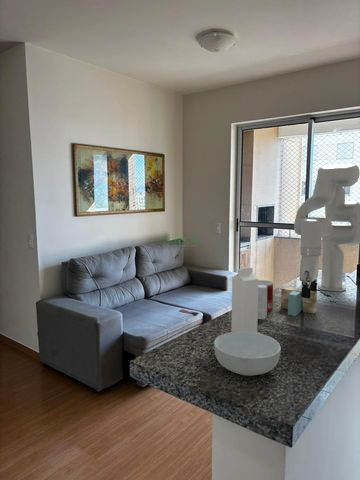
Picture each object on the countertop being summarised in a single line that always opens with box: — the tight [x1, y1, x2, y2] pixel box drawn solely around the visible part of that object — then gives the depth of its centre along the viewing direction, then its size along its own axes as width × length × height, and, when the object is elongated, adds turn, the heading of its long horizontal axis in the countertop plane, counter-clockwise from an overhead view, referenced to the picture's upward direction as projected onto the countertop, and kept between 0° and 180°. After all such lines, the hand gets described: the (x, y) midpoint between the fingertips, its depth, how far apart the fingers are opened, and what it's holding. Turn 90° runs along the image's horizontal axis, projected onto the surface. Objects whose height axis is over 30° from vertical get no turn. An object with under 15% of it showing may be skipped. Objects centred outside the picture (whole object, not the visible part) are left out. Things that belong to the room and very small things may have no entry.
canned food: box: [258, 279, 274, 313], centre depth 141 cm, size 8×8×11 cm
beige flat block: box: [280, 286, 318, 314], centre depth 141 cm, size 13×3×8 cm, turn 55°
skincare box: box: [258, 285, 268, 320], centre depth 132 cm, size 6×4×12 cm
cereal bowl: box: [213, 331, 282, 377], centre depth 92 cm, size 17×17×7 cm
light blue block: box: [287, 285, 303, 317], centre depth 141 cm, size 16×3×8 cm, turn 146°
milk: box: [230, 267, 259, 333], centre depth 114 cm, size 6×6×22 cm
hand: (309, 294), depth 138 cm, fingers open, 9 cm apart
